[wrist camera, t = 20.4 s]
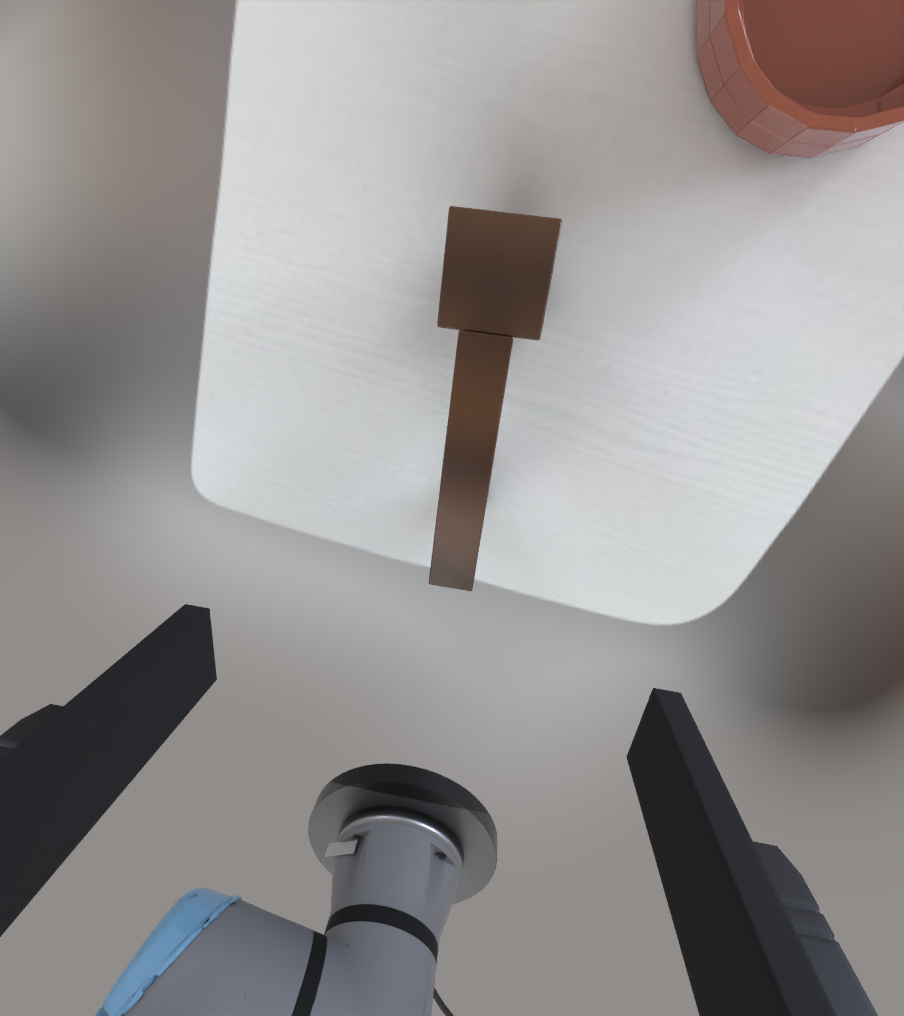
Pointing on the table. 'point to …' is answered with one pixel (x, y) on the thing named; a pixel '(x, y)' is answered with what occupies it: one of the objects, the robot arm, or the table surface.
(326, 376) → the table surface
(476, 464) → the brown wooden mallet
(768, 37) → the bowl
